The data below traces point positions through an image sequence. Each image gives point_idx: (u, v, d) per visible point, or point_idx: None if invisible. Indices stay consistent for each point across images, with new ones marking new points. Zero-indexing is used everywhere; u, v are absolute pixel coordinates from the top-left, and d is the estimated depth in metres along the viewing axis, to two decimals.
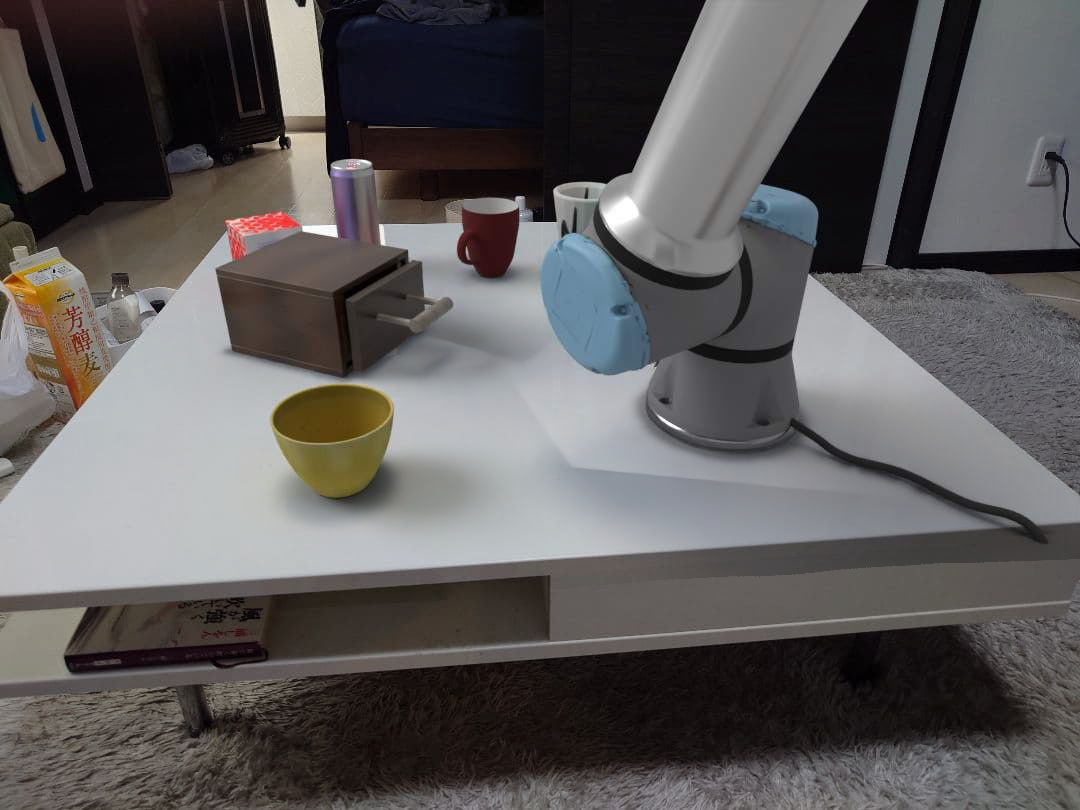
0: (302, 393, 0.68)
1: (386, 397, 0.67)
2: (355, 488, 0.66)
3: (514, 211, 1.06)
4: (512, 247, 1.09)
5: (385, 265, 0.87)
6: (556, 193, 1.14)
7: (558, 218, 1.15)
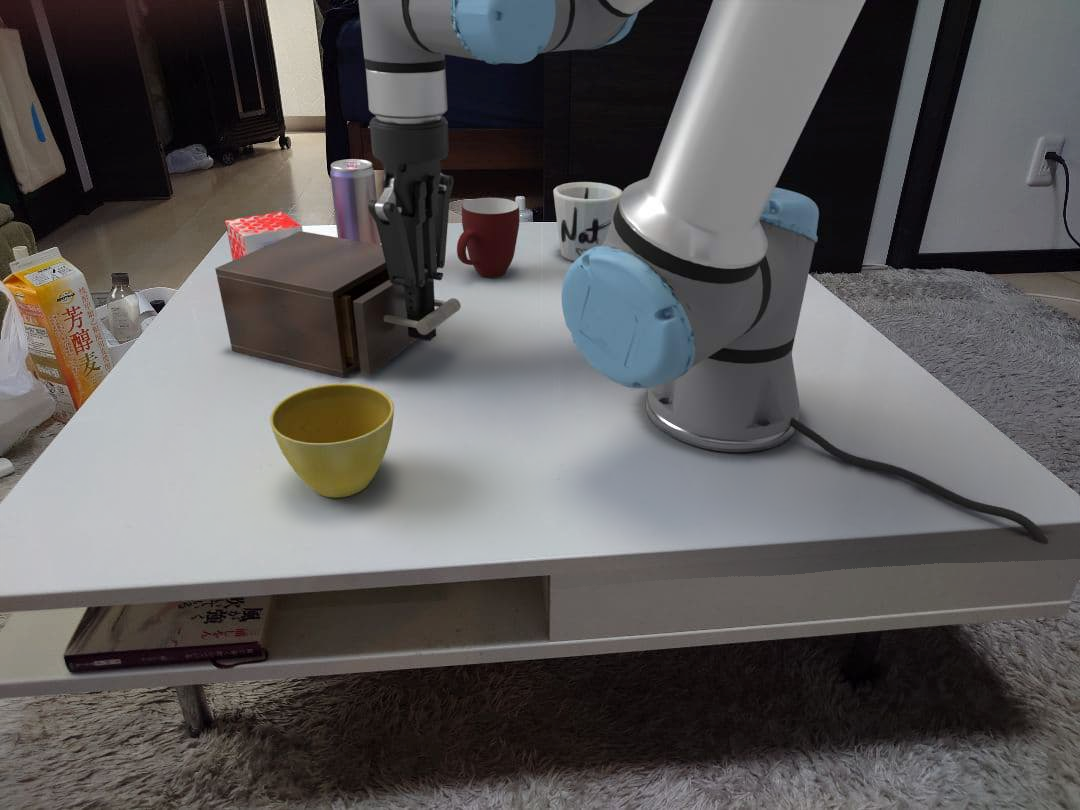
0: (302, 393, 0.68)
1: (386, 397, 0.67)
2: (355, 488, 0.66)
3: (514, 211, 1.06)
4: (512, 247, 1.09)
5: (385, 265, 0.87)
6: (556, 193, 1.14)
7: (558, 218, 1.15)
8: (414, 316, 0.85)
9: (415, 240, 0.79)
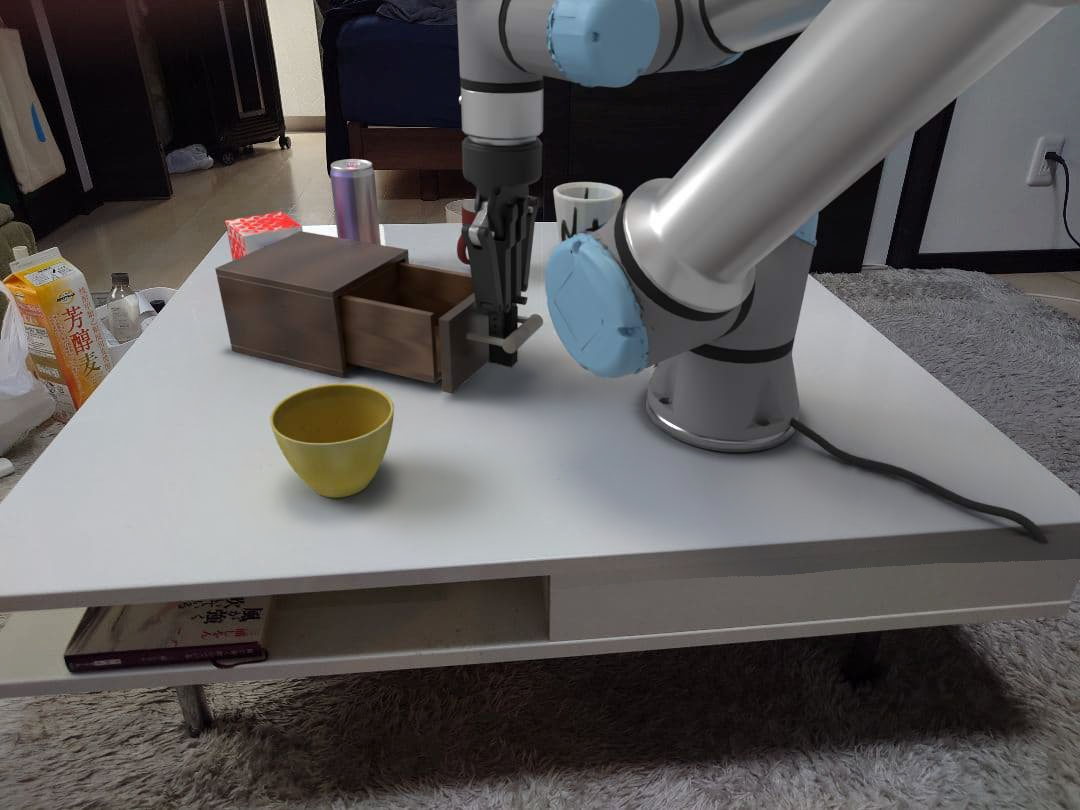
0: (302, 393, 0.68)
1: (386, 397, 0.67)
2: (355, 488, 0.66)
3: None
4: None
5: (385, 265, 0.87)
6: (556, 193, 1.14)
7: (558, 218, 1.15)
8: None
9: (504, 264, 0.76)
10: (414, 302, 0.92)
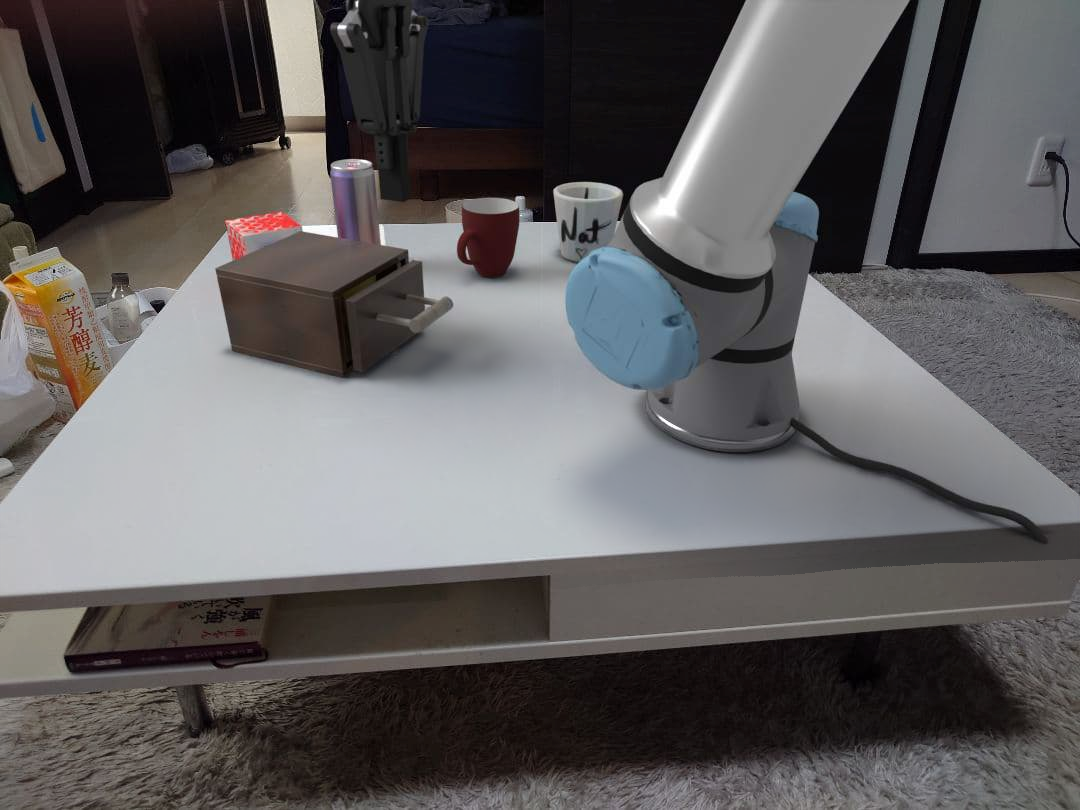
0: None
1: None
2: (348, 327, 0.88)
3: (514, 211, 1.06)
4: (512, 247, 1.09)
5: (385, 265, 0.87)
6: (556, 193, 1.14)
7: (558, 218, 1.15)
8: (386, 174, 0.78)
9: (384, 78, 0.72)
10: None
